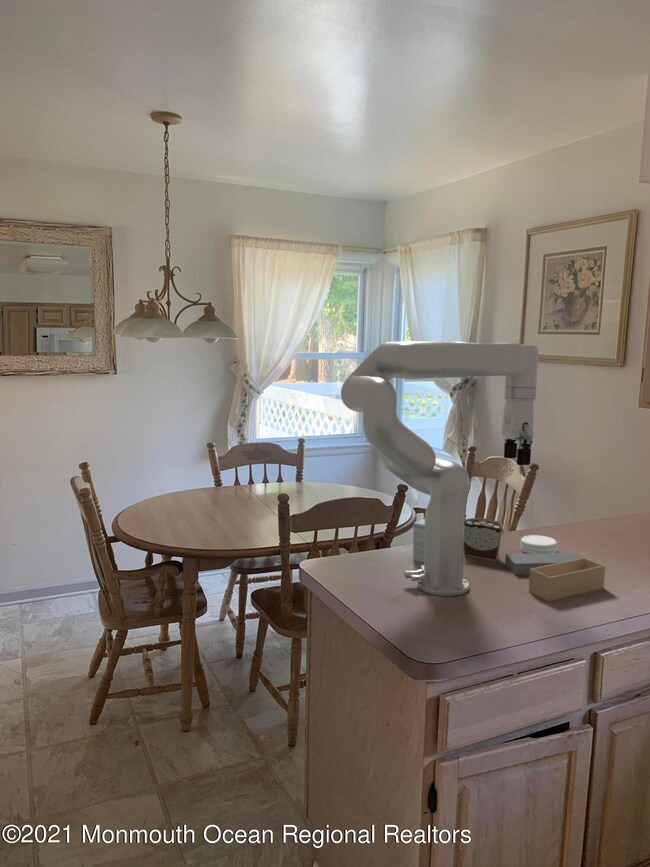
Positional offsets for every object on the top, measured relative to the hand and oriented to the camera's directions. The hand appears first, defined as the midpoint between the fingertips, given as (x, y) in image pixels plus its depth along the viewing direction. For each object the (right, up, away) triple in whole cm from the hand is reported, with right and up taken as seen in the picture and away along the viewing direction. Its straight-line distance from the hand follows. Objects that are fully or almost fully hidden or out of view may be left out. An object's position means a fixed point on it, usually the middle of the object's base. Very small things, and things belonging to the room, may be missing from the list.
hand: (516, 461), depth 161 cm
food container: (-4, -28, +19) cm, 34 cm away
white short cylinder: (+13, -27, +23) cm, 38 cm away
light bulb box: (-19, -28, +17) cm, 38 cm away
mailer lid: (+10, -29, +8) cm, 32 cm away
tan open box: (+10, -31, -7) cm, 34 cm away
